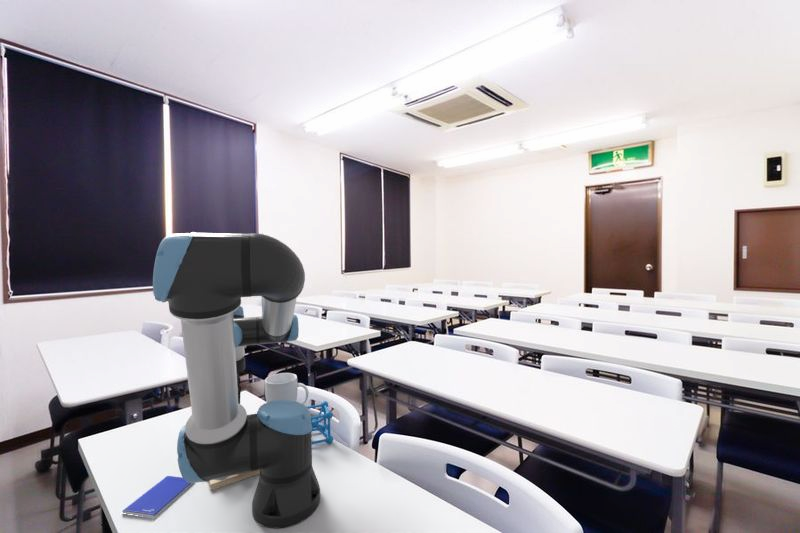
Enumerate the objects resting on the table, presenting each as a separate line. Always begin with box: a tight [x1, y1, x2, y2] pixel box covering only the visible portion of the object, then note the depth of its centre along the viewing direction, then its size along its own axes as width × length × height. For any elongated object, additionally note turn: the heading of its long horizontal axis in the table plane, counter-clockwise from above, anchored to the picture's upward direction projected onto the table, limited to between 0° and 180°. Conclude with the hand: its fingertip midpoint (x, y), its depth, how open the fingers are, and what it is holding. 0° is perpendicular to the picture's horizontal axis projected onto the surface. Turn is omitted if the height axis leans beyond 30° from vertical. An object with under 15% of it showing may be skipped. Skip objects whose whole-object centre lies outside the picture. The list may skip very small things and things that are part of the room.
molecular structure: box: [306, 400, 334, 445], centre depth 111 cm, size 10×10×10 cm
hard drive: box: [122, 475, 194, 519], centre depth 86 cm, size 2×8×12 cm
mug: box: [264, 372, 310, 405], centre depth 129 cm, size 15×11×13 cm
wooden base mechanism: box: [207, 469, 260, 491], centre depth 101 cm, size 23×12×6 cm, turn 35°
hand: (233, 436), depth 107 cm, fingers closed
